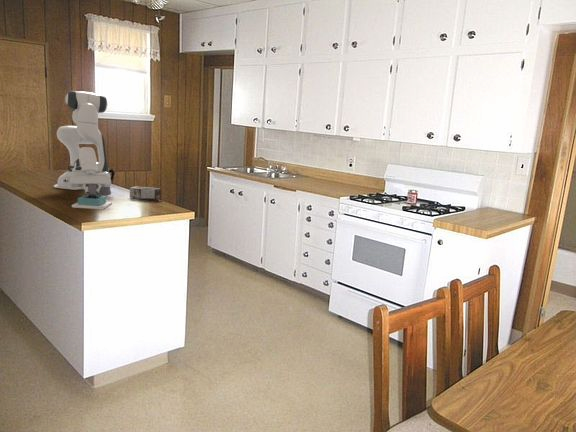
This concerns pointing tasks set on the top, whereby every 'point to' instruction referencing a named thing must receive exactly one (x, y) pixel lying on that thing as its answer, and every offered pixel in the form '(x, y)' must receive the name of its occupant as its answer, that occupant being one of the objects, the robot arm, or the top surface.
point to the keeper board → (92, 202)
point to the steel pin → (92, 191)
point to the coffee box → (145, 193)
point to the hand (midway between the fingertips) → (92, 192)
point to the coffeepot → (106, 189)
